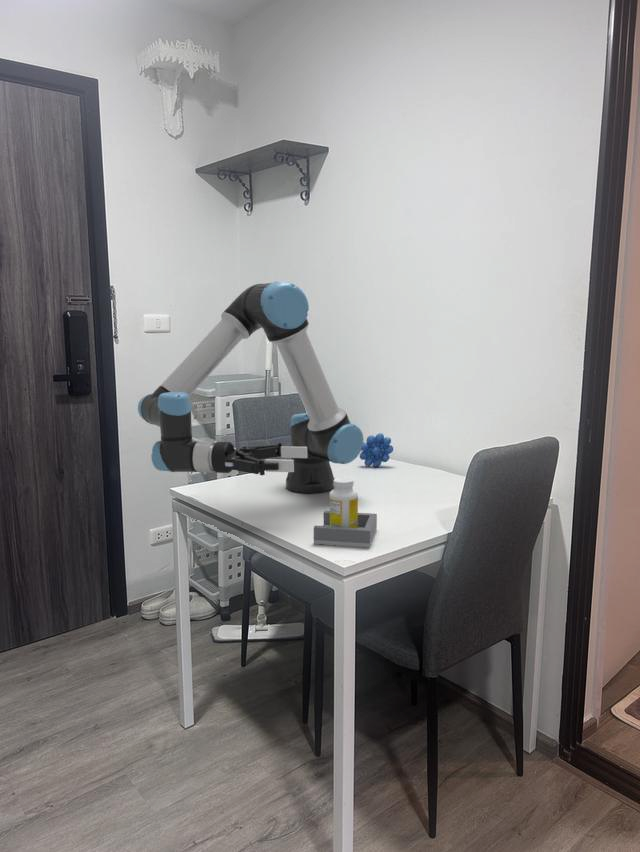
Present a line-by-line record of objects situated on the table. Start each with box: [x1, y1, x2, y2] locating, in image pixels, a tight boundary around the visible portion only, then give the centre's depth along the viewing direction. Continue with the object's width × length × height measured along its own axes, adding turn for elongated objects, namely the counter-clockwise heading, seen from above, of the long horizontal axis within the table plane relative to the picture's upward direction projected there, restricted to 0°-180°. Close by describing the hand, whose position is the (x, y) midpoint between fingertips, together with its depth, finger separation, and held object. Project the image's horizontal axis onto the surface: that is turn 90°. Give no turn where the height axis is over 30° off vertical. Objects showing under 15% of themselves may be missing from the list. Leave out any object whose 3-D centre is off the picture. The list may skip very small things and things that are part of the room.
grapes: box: [359, 432, 394, 468], centre depth 223 cm, size 12×7×12 cm, turn 84°
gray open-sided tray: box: [313, 510, 378, 549], centre depth 153 cm, size 13×13×4 cm
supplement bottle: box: [329, 477, 359, 528], centre depth 152 cm, size 7×7×13 cm
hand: (300, 458), depth 152 cm, fingers open, 13 cm apart
